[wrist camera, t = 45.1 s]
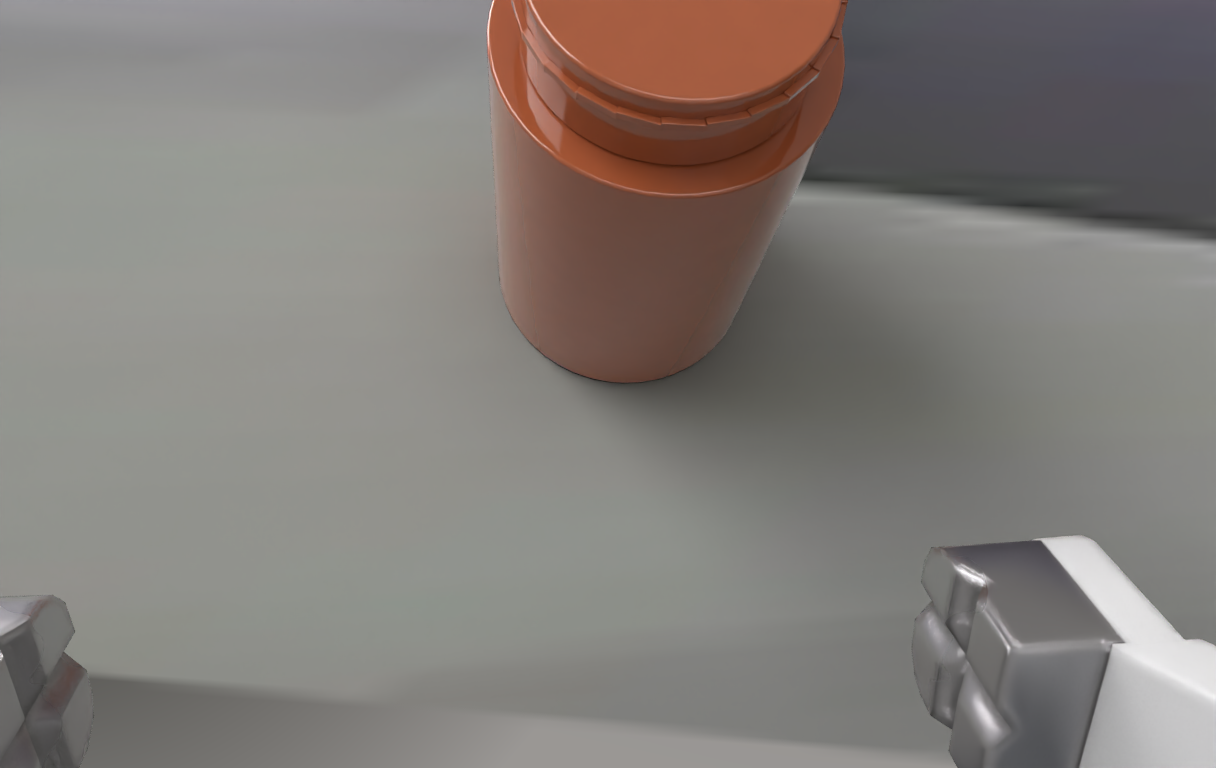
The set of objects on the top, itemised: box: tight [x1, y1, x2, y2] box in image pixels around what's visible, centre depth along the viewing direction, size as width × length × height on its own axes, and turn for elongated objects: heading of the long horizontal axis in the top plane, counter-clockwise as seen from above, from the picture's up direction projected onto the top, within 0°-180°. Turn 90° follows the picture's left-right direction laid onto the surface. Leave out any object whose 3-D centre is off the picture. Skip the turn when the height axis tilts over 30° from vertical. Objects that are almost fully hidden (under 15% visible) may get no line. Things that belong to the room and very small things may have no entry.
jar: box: [486, 0, 848, 383], centre depth 19 cm, size 6×6×10 cm
